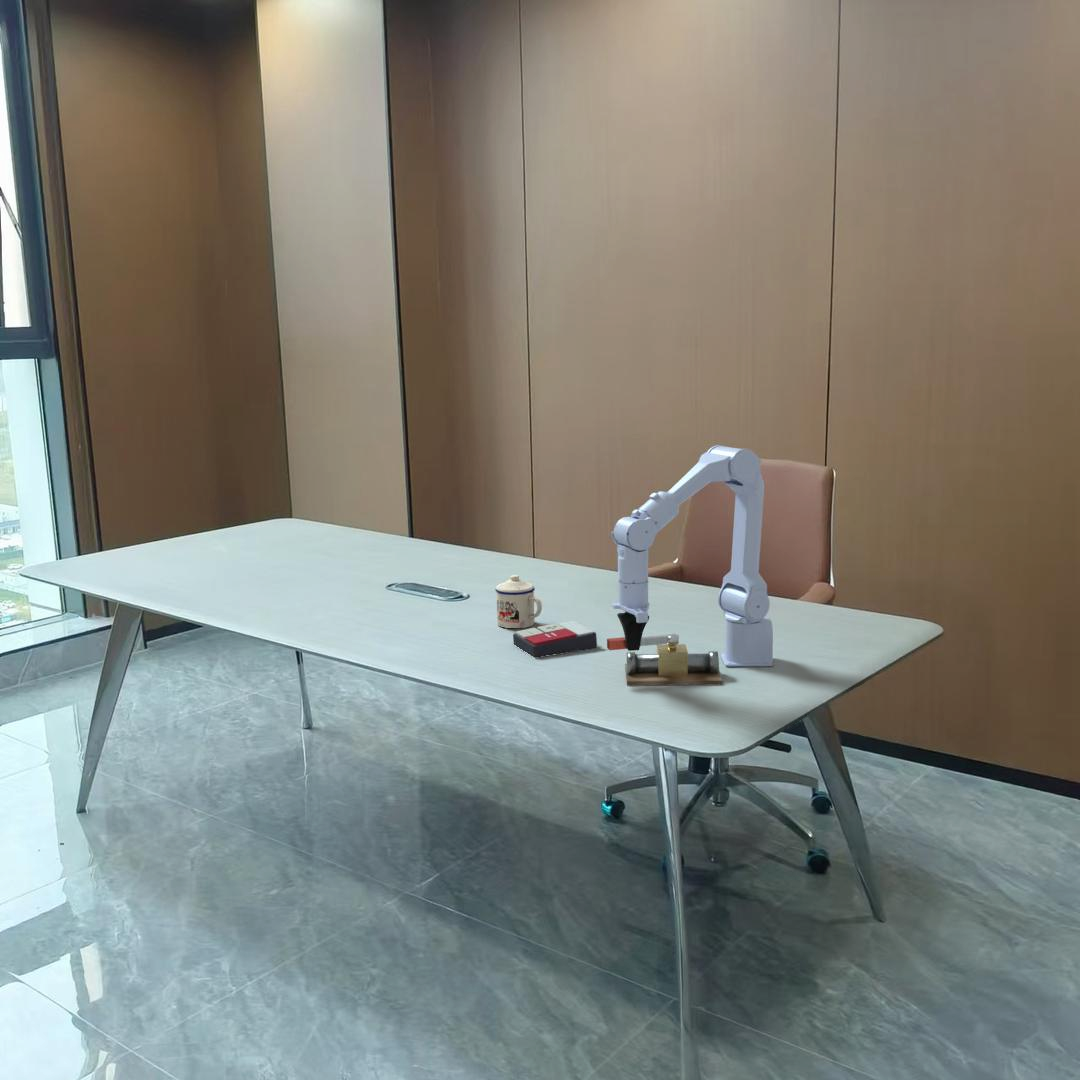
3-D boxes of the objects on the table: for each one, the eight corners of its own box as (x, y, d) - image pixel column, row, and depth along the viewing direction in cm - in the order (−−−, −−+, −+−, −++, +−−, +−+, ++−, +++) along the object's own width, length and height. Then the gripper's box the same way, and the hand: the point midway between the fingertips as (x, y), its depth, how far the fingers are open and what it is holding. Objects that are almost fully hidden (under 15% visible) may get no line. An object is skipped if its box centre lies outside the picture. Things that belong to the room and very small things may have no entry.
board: (715, 666, 214) (715, 662, 214) (721, 684, 203) (721, 680, 203) (625, 667, 215) (624, 663, 215) (627, 685, 204) (626, 681, 204)
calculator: (511, 630, 232) (573, 617, 238) (513, 649, 233) (574, 636, 239) (533, 643, 222) (596, 629, 228) (534, 662, 223) (598, 648, 229)
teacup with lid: (488, 626, 248) (486, 577, 246) (513, 617, 255) (511, 569, 253) (529, 633, 241) (528, 583, 239) (553, 624, 248) (552, 575, 246)
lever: (680, 644, 207) (680, 635, 207) (610, 650, 204) (610, 641, 204) (676, 641, 210) (676, 632, 209) (606, 647, 207) (606, 638, 206)
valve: (715, 669, 211) (716, 640, 210) (718, 677, 206) (719, 648, 205) (626, 670, 212) (626, 641, 211) (627, 678, 207) (627, 649, 206)
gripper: (604, 573, 209) (604, 640, 211) (621, 590, 194) (621, 662, 197) (639, 571, 210) (639, 638, 212) (659, 588, 196) (658, 659, 198)
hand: (633, 649), depth 205 cm, fingers closed
